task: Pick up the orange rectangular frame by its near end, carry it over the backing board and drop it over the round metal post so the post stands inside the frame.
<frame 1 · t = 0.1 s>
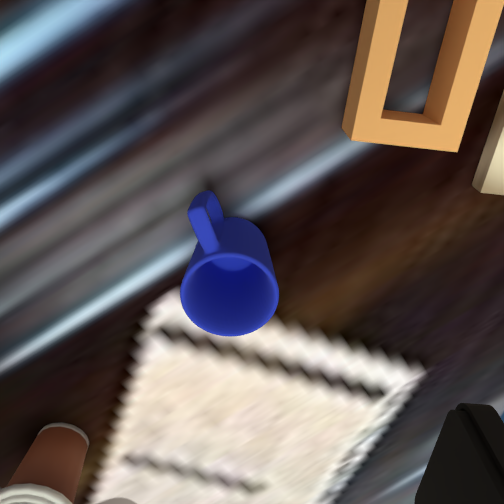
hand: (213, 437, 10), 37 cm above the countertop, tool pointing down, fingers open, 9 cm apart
orange rectangular frame: (413, 37, 40), on the countertop
mug: (226, 226, 48), on the countertop
coffee cup: (64, 439, 61), on the countertop
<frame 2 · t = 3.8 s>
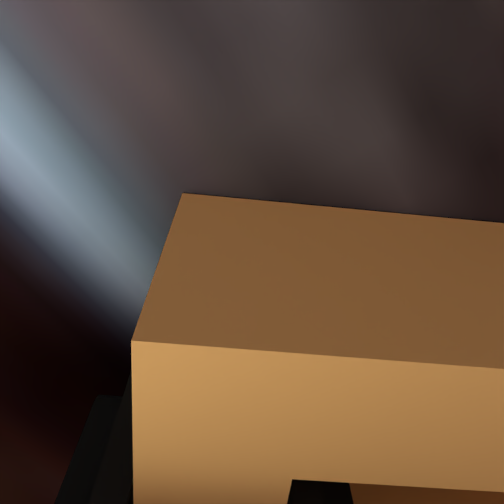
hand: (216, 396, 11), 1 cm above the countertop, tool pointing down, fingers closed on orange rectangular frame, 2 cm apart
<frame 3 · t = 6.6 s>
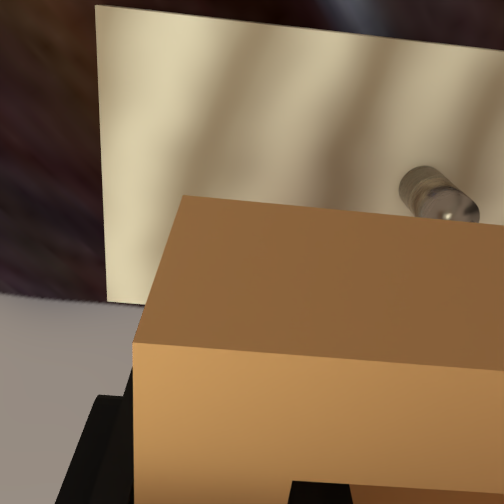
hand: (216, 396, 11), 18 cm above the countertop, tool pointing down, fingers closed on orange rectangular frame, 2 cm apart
backing board: (338, 185, 28), on the countertop
round metal post: (421, 187, 26), resting on backing board
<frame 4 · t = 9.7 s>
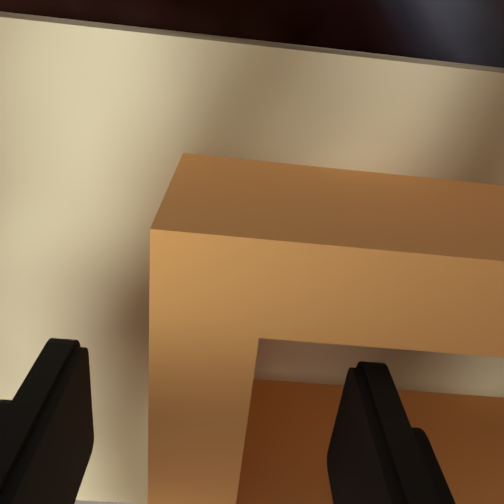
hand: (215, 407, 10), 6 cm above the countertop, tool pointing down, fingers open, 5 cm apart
orange rectangular frame: (446, 328, 14), point 2 cm above the countertop, touching backing board
backing board: (398, 312, 16), on the countertop
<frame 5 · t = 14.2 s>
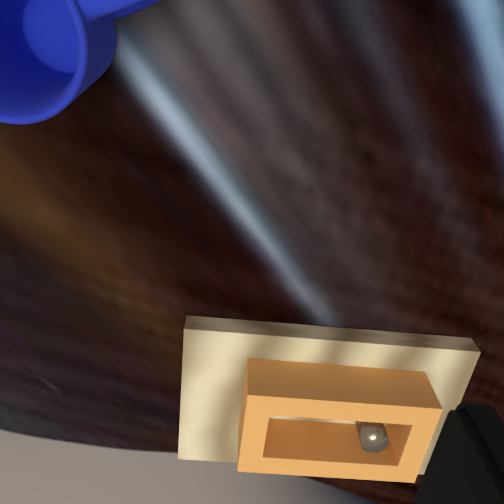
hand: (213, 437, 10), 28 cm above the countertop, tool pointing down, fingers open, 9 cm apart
orange rectangular frame: (328, 402, 45), point 2 cm above the countertop, touching backing board
mug: (95, 18, 32), on the countertop
backing board: (316, 393, 47), on the countertop
round metal post: (363, 404, 45), resting on backing board
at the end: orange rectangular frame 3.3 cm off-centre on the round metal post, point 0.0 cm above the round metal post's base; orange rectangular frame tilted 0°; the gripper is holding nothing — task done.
